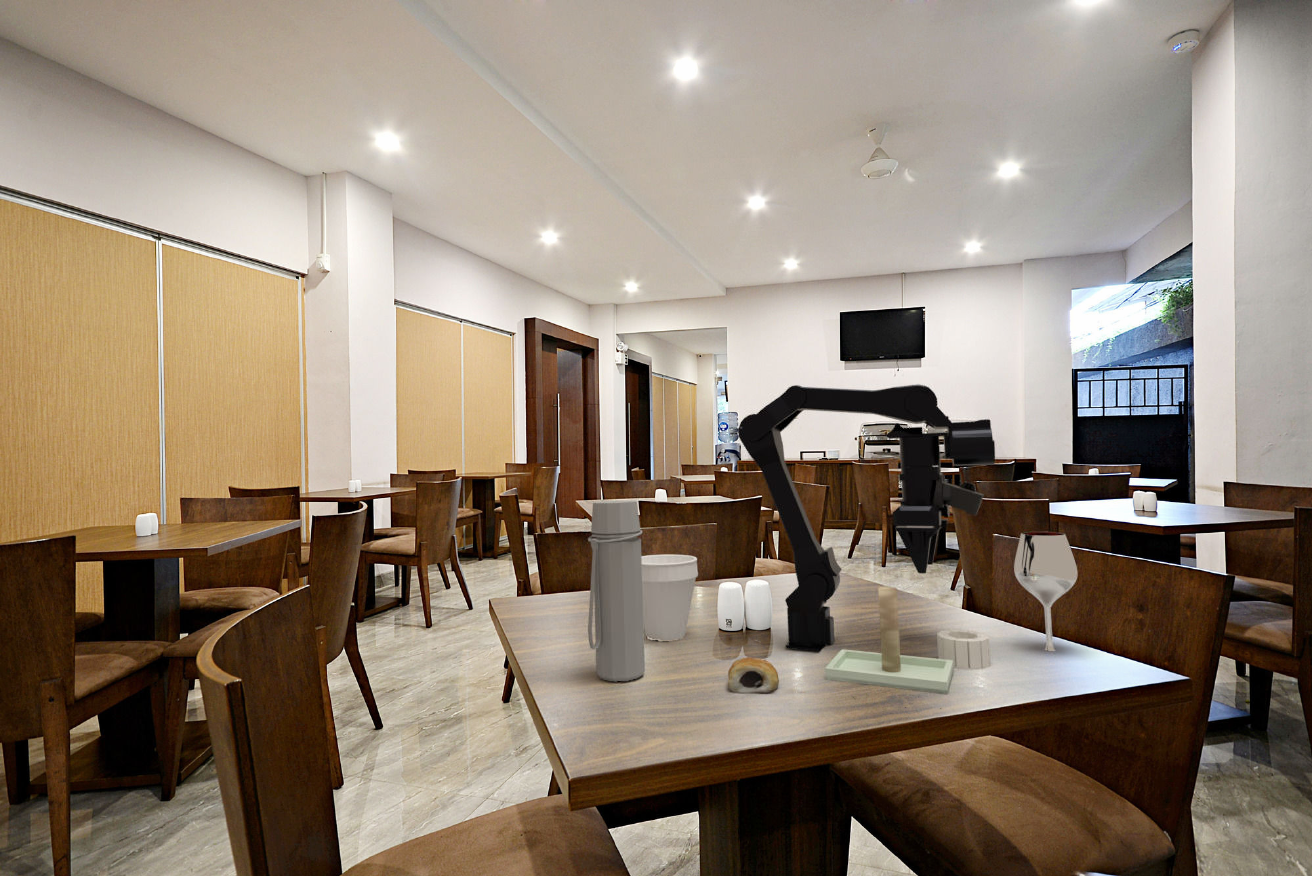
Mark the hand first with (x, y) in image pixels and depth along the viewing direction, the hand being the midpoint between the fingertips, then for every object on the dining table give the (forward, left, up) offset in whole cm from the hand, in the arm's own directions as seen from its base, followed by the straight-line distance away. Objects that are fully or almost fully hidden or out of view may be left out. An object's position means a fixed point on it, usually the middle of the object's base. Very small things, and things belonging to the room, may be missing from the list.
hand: (925, 568), depth 101 cm
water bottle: (-39, -28, -13) cm, 50 cm away
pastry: (-20, -23, -14) cm, 34 cm away
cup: (-43, -5, -13) cm, 45 cm away
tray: (-3, -15, -13) cm, 20 cm away
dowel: (-3, -14, -12) cm, 19 cm away
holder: (+5, -5, -13) cm, 15 cm away
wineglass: (+16, +6, -13) cm, 22 cm away
